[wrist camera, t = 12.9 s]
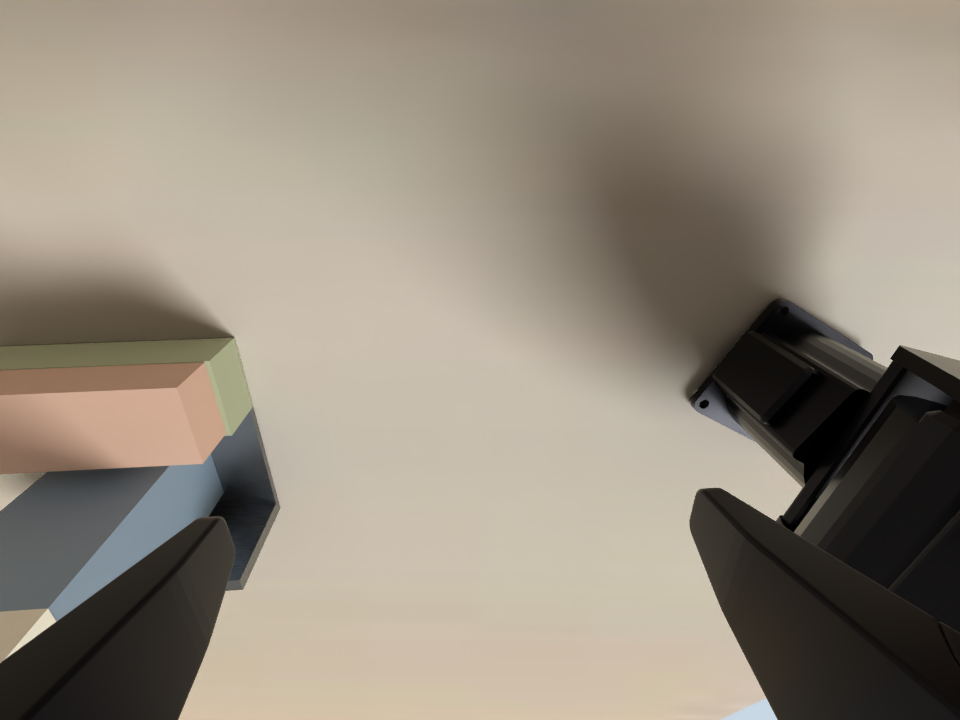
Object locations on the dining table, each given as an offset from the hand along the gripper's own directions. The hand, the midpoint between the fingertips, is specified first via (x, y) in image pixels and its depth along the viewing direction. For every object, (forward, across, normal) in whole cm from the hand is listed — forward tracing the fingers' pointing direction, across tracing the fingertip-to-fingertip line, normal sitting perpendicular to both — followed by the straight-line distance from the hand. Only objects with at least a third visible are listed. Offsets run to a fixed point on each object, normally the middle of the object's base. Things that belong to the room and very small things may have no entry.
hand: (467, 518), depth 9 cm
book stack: (+13, +15, +3) cm, 20 cm away
